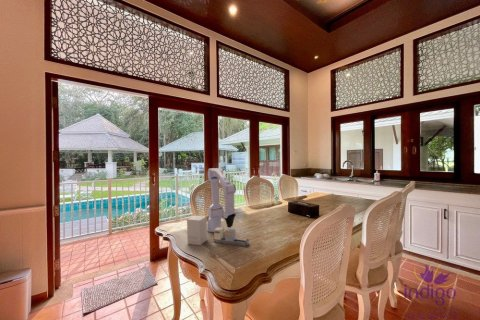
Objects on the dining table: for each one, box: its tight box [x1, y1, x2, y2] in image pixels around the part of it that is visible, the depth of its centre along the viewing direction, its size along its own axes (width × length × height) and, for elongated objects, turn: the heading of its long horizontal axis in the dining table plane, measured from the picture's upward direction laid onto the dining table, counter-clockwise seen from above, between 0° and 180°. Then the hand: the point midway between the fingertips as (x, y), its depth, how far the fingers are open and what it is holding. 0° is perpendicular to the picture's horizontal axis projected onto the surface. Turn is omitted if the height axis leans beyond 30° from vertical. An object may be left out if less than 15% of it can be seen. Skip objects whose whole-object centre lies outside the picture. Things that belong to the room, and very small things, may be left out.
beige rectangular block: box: [213, 227, 224, 240], centre depth 127 cm, size 4×4×6 cm
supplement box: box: [186, 215, 208, 246], centre depth 128 cm, size 9×9×15 cm
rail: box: [213, 237, 250, 248], centre depth 125 cm, size 21×4×3 cm, turn 71°
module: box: [224, 227, 237, 241], centre depth 125 cm, size 5×4×6 cm
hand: (229, 226), depth 125 cm, fingers closed
